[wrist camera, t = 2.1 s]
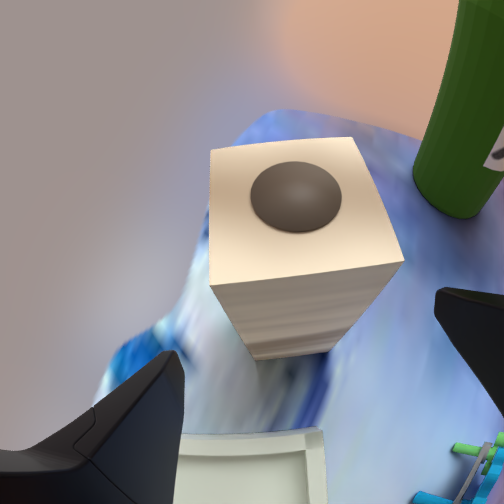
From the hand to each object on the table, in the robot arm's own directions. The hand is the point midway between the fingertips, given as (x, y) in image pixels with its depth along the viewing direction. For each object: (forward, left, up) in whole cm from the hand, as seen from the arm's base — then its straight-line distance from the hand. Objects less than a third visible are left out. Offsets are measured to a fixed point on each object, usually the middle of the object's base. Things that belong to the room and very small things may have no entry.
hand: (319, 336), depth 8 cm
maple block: (+3, 0, -10) cm, 11 cm away
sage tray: (-11, +5, -10) cm, 16 cm away
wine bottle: (+14, -19, -11) cm, 26 cm away
